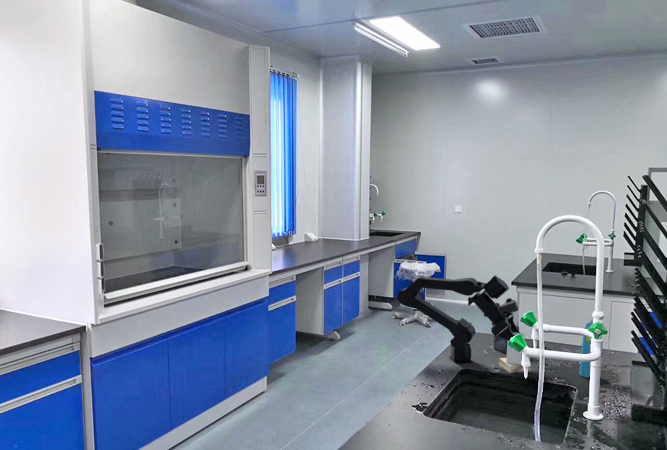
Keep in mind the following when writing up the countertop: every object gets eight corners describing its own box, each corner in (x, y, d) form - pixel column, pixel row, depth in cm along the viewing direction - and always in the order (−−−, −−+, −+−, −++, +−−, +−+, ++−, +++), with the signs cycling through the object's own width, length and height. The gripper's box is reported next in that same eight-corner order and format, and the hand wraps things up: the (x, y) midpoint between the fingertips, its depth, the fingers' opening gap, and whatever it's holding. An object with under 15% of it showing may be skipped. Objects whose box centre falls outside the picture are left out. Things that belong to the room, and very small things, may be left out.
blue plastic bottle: (593, 380, 170) (594, 324, 168) (577, 377, 173) (579, 322, 171) (596, 373, 176) (598, 319, 174) (581, 370, 179) (583, 317, 177)
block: (510, 374, 177) (510, 366, 177) (499, 366, 185) (499, 358, 185) (531, 372, 179) (531, 364, 178) (519, 364, 187) (519, 356, 186)
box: (493, 349, 203) (494, 323, 202) (503, 346, 205) (504, 321, 204) (508, 354, 196) (509, 328, 195) (519, 352, 198) (519, 326, 198)
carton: (506, 362, 180) (507, 335, 179) (507, 357, 185) (509, 331, 184) (522, 365, 178) (524, 337, 177) (523, 360, 183) (525, 333, 182)
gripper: (501, 298, 173) (535, 333, 169) (507, 287, 190) (538, 319, 186) (477, 318, 177) (510, 353, 173) (485, 306, 194) (515, 337, 190)
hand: (519, 339), depth 180 cm, fingers open, 9 cm apart
